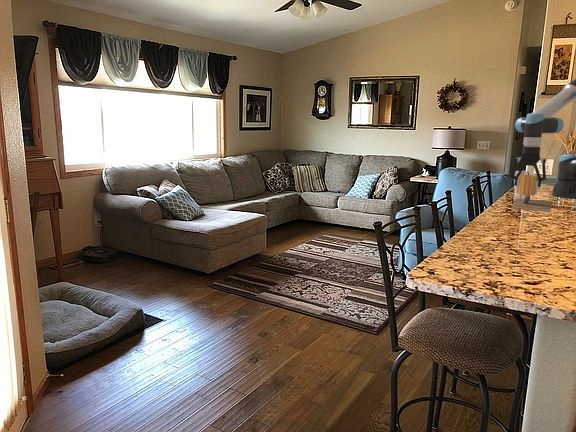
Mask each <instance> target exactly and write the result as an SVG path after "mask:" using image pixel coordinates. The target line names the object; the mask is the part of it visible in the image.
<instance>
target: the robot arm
mask: <svg viewBox="0 0 576 432" xmlns="http://www.w3.org/2000/svg"><path fill="white" fill-rule="evenodd" d="M573 102H576V78H574V79H573V80H571V81H570V82H568V83H567V84H565V85H564V86H563V87H562V90H561V91H560V92H558V93H557V94H556V95H555V96H553V97H552V98H551V99H549V100H548V101H546V102H544V104H542V105H541V106H539V107H538V108H537V109H536V110H534V111H533V112H531V113H528V114H526V117H525V116H523V117H519V118H517V120H516V121H515V122H514V123H515V124H514V127H515V130H516V131H517V132H519V133H524V134H523V136H524V137H523V141H522V145H523V147H522V151H521V155H520V157H515V158H514V165H513V169H512V172H511V176H510V177H511V179H513V180H514V179H515V184H514V183H513V185H515V186H517V188H516V193H518V186H519V179H518V177H519V176H520V174H521V172H522V171H524V170H525V167H526V166H527V167H528V166H531V167H533V168H534V171H535V173H536V176H537V177H538V180H537V182H536V191H535V195H538V189H539V188H541V185H542V183H541V181H542V180H545V179H546V177H547V173H546V172H547V171H546V162H547V158H541V156H540V155H541V147H540V146H542V140H543V139H542V138H543V134H557V133H560V132H562V130H564V125H565V123H564V119H562V118H561V117H556V116H555V115H556V114H558V113H559V112H560V111H562V110H563V109H564V108H565V107H567V106H568V105H570V104H571V103H573ZM554 116H555V117H554ZM520 160H521V162H522V165H521V167H520V168H519V170H518V171H519V172H518V174H517V175H516V176H515V172H516V171H517V168H518V165H519V162H520ZM538 162H540V163H541V165H542V166H541V167H542V168H541V170H542V171H541V173H542V176H541V173H540V170H539V167H538ZM541 177H542V178H541ZM556 178H557V183H556V184H555V183H554V184H555V185H554V186H553V189H552V191H551V196H553V197H558V198H565V199H566V198H567V199H576V153H570V154H562V155H561V156H559V160H558V168H557V177H556Z"/></svg>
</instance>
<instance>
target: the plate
mask: <svg viewBox="0 0 576 432" xmlns="http://www.w3.org/2000/svg"><path fill="white" fill-rule="evenodd" d="M514 200H515V201H514V202H513V204H512V205H511V207H510V209H513V210H526V211H535V212H536V211H538V212H545V213H546V212H548V213H551V209H552V205H553V204H552V203H553V201H551V200H542V199H541V200H540V199H530V201H528V203H523V202H524V199H514Z"/></svg>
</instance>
